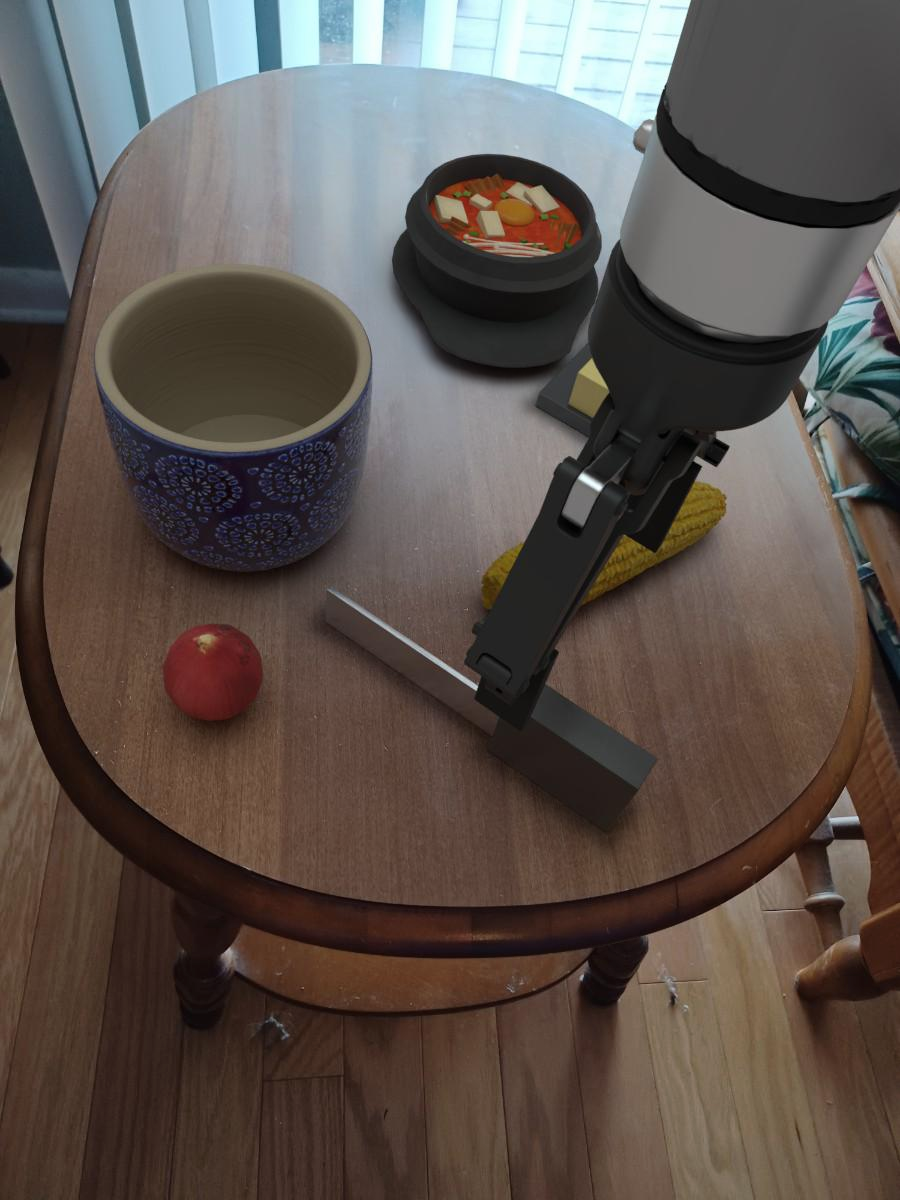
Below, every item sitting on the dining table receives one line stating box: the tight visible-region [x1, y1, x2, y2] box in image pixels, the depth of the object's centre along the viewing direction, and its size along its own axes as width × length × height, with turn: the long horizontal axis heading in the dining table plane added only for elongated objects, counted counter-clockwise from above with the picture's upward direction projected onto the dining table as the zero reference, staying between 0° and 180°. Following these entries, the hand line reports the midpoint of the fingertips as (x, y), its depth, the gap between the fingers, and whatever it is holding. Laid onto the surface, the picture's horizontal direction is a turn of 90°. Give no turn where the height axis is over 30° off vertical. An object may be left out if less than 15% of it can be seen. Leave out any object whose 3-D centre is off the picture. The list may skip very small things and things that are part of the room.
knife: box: [325, 585, 659, 834], centre depth 59 cm, size 23×2×7 cm, turn 55°
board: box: [535, 342, 593, 438], centre depth 80 cm, size 10×14×2 cm
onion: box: [162, 623, 264, 722], centre depth 57 cm, size 6×6×8 cm
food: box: [480, 480, 728, 611], centre depth 68 cm, size 21×6×6 cm, turn 124°
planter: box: [93, 263, 374, 573], centre depth 63 cm, size 16×16×15 cm
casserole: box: [391, 153, 603, 369], centre depth 83 cm, size 25×19×8 cm
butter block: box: [568, 358, 609, 418], centre depth 76 cm, size 5×5×4 cm
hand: (573, 617), depth 49 cm, fingers open, 13 cm apart
